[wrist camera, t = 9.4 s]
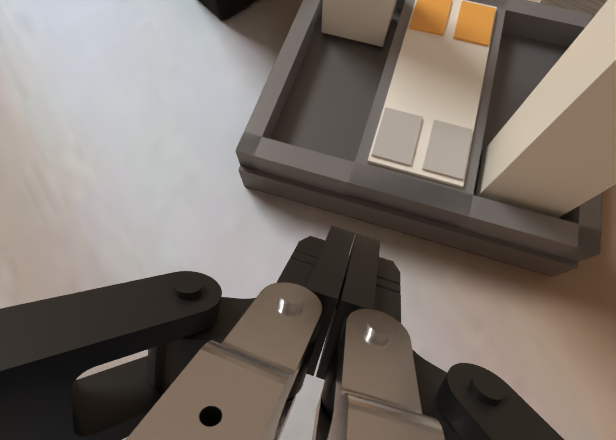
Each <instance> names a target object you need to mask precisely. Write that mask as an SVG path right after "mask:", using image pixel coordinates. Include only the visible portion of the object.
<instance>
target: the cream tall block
mask: <svg viewBox="0 0 616 440" xmlns="http://www.w3.org/2000/svg"><path fill="white" fill-rule="evenodd" d="M614 185H616V0H608V1H607V2H606V3H605V4H604V5H603V7H602V8H601V9H600V10H599V11H598V13H597V14H596V15H595V16H594V18H593V19H592V20H591V21H590V22H589V24H588V25H587V26H586V27H585V28H584V30H583V31H582V32H581V33H580V34H579V36H578V37H577V38H576V39H575V41H574V42H573V43H572V44H571V45H570V47H569V48H568V49H567V50H566V51H565V53H564V54H563V55H562V56H561V58H560V59H559V60H558V61H557V62H556V64H555V65H554V66H553V67H552V68H551V70H550V71H549V72H548V73H547V75H546V76H545V77H544V78H543V79H542V81H541V82H540V83H539V84H538V85H537V87H536V88H535V89H534V90H533V91H532V93H531V94H530V95H529V96H528V98H527V99H526V100H525V101H524V102H523V104H522V105H521V106H520V107H519V108H518V110H517V111H516V112H515V113H514V115H513V116H512V117H511V118H510V119H509V121H508V122H507V123H506V124H505V125H504V127H503V128H502V129H501V130H500V132H499V133H498V134H497V135H496V136H495V138H494V139H493V140H492V141H491V142H490V144H489V145H488V146H487V147H486V148H485V150H484V151H483V154H482V160H481V166H480V172H479V177H478V183H477V189H476V195H475V196H479V197H482V198H486V199H490V200H493V201H497V202H501V203H504V204H508V205H511V206H515V207H519V208H522V209H526V210H530V211H533V212H537V213H540V214H544V215H548V216H551V217H555V218H559V217H561V216H562V215H564V214H566V213H567V212H569V211H571V210H573V209H574V208H576V207H578V206H579V205H581V204H583V203H585V202H586V201H588V200H590V199H591V198H593V197H595V196H597V195H598V194H600V193H602V192H604V191H605V190H607V189H609V188H610V187H612V186H614Z"/></svg>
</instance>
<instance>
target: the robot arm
mask: <svg viewBox="0 0 616 440" xmlns="http://www.w3.org/2000/svg"><path fill="white" fill-rule="evenodd" d="M353 237H354V233H353V232H350V231H346V230H343V229H340V228H337V227H333V226H331V229H330V231H329V234H328V236H327V238H326V241H325V240H322V239H318V238H315V237H312V236H309V237H307V238H305V239H303V240H301V241H299V243H298V245H297V247H296V248H295V250H294V252H293V254H292V256H291V258H290V259H289V261H288V263H287V265H286V266H285V268H284V270H283V272H282V274H281V276H280V277H279V279H278V281H277V283H274V284H271V285H269V286H267V287H265V288H264V289H263V290H262V291H261V292H260V294H259V295H258V296H257V298H252V299H237V298H227V297H221V295H222V290H221V287H220V285H219V284H218V283H217V282H216V281H215V280H214V279H213V278H211V277H209V276H207V275H205V274H202V273H198V272H192V271H180V272H173V273H169V274H164V275H159V276H154V277H150V278H145V279H140V280H135V281H130V282H126V283H121V284H116V285H111V286H107V287H102V288H97V289H92V290H88V291H83V292H78V293H73V294H68V295H64V296H59V297H54V298H49V299H45V300H40V301H35V302H30V303H26V304H21V305H16V306H11V307H6V308H2V309H0V440H122V439H124V438H126V437H128V436H129V437H128V438H127V439H126V440H279V438H280V436H281V433H282V431H283V428H284V426H285V424H286V421H287V419H288V416H289V414H290V411H291V409H292V406H293V404H294V401H295V398H296V395H297V393H298V392H299V391H300V389H301V387H302V385H303V382H304V379H305V375H306V374H309V375H312V376H313V375H314V372H315V369H316V366H317V363H318V360H319V357H320V354H321V351H322V347H323V344H324V341H325V344H324V348H323V352H322V356H321V359H320V363H319V367H318V371H317V375H316V377H318V378H321V379H324V380H325V382H324V386H323V390H322V393H321V396H320V399H319V402H318V405H317V409H316V415H315V422H314V429H313V436H312V440H564V439H563V438H562V437H561V436H560V435H559V434H558V433H557V432H556V431H555V430H554V429H553V428H552V427H551V426H550V425H549V424H548V423H547V422H546V421H545V420H544V419H543V418H542V417H541V416H539V415H538V414H537V413H536V412H535V411H534V410H533V409H532V408H531V407H530V406H529V405H528V404H527V403H526V402H525V401H524V400H523V399H522V398H521V397H520V396H519V395H518V394H517V393H516V392H515V391H514V390H513V389H512V388H511V387H510V386H509V385H508V384H507V383H506V382H504V381H503V380H502V379H501V378H500V377H498V376H497V375H495V374H494V373H492V372H491V371H489V370H487V369H485V368H483V367H480V366H477V365H474V364H469V363H459V364H455V365H453V366H452V367H451V368H450V369H449V371H448V373H447V372H445V371H443V370H441V369H440V368H438V367H436V366H435V365H433V364H431V363H429V362H428V361H426V360H425V359H423V358H422V357H420V356H419V355H418V354H417V353H416V352H415V351H413V350H412V346H411V340H410V336H409V334H408V332H407V330H406V329H405V328H404V326H403V325H402V324H401V294H400V272H399V270H398V268H397V267H396V265H395V264H394V262H393V261H390V260H387V259H384V258H380V257H379V248H380V240H376V239H373V238H370V237H366V236H363V235H360V234H356V236H355V239H354V243H353V246H352V249H351V245H352V241H353ZM350 249H351V252H350ZM349 253H350V255H349ZM348 257H349V258H348ZM326 335H327V336H326ZM325 338H326V340H325ZM147 349H148V356H146V357H143V358H140V359H137V360H134V361H131V362H128V363H125V364H122V365H119V366H116V367H113V368H110V369H107V370H105V371H102V372H99V373H96V374H93V375H90V376H87V377H84V378H81V379H78V380H76V379H77V378H78V377H79V376H80V375H81V374H82V373H83V372H85V371H87V370H88V369H90V368H93V367H95V366H98V365H101V364H104V363H107V362H110V361H113V360H117V359H120V358H123V357H126V356H129V355H132V354H135V353H138V352H141V351H144V350H147Z"/></svg>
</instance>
